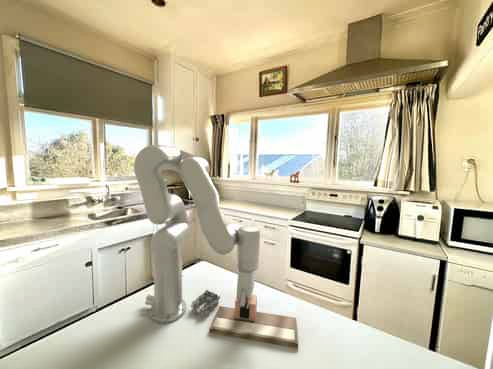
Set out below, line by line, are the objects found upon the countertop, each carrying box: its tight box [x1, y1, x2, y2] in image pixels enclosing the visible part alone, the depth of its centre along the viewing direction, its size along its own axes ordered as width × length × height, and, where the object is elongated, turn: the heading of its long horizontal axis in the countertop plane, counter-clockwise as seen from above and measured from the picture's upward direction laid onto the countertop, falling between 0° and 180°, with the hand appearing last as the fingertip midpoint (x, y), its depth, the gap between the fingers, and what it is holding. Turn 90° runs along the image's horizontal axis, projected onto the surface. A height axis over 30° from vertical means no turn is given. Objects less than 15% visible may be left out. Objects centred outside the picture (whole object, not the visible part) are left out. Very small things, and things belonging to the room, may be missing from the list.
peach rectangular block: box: [234, 294, 258, 321], centre depth 75 cm, size 7×5×6 cm
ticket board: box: [208, 305, 299, 349], centre depth 72 cm, size 28×11×2 cm, turn 80°
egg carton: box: [190, 289, 221, 318], centre depth 81 cm, size 11×8×4 cm
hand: (245, 311), depth 75 cm, fingers closed on peach rectangular block, 5 cm apart
